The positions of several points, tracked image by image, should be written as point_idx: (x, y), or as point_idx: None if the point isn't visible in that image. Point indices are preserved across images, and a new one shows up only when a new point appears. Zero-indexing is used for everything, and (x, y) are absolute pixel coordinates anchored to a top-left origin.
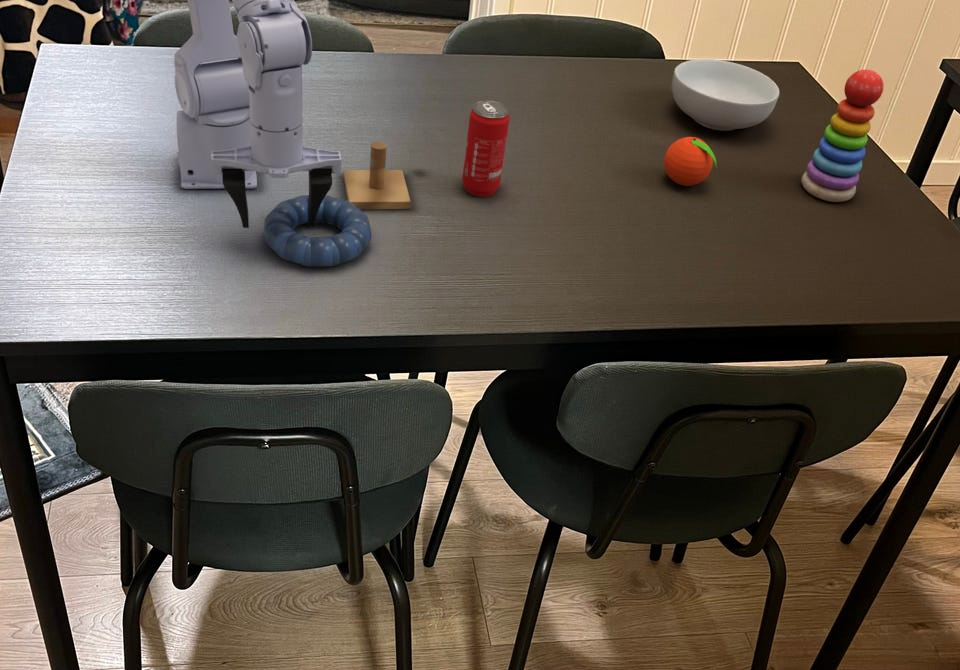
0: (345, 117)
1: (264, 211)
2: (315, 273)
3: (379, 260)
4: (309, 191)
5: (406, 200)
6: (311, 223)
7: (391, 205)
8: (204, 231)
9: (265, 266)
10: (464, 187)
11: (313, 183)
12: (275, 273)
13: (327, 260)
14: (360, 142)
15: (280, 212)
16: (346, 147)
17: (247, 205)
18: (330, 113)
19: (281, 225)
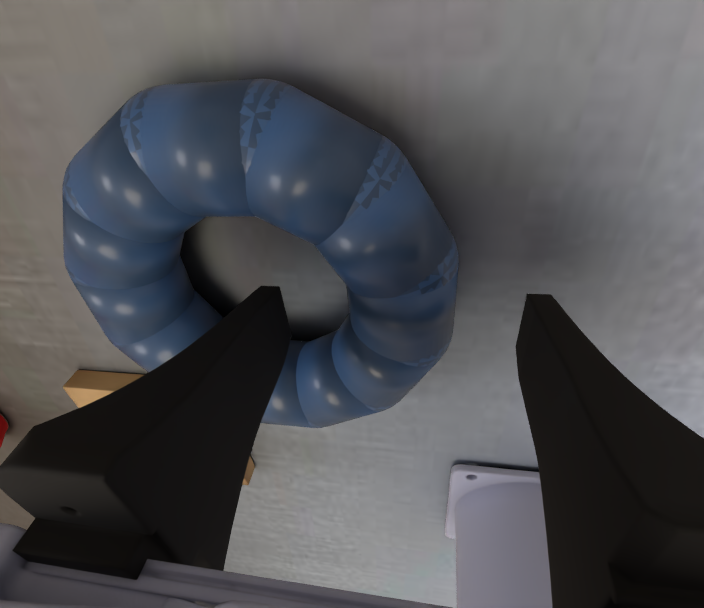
0: (280, 570)
1: (440, 393)
2: (255, 58)
3: (52, 152)
4: (240, 431)
5: (72, 390)
6: (261, 293)
7: (112, 381)
8: (657, 329)
9: (468, 112)
10: (3, 417)
11: (91, 478)
12: (428, 54)
13: (181, 85)
14: (243, 529)
15: (387, 361)
16: (266, 524)
17: (523, 397)
18: (306, 579)
19: (384, 289)
